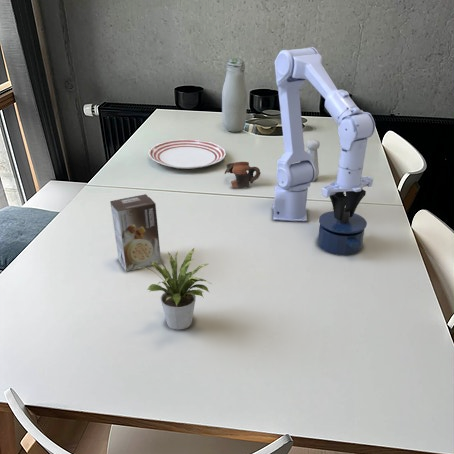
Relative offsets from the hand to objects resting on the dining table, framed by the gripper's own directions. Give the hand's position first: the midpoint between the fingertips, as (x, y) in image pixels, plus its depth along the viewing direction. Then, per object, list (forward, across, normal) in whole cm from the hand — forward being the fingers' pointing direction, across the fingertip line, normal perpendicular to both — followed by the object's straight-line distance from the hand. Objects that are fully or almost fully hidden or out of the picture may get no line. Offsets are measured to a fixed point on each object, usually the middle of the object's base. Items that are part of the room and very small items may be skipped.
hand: (343, 217), depth 131 cm
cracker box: (+8, -49, +17) cm, 53 cm away
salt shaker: (+8, +20, +39) cm, 45 cm away
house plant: (+8, -52, -10) cm, 54 cm away
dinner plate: (+8, -7, +75) cm, 76 cm away
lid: (+2, 0, 0) cm, 2 cm away
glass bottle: (+8, +25, +96) cm, 100 cm away
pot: (+8, 0, 0) cm, 8 cm away
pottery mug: (+8, -1, +47) cm, 48 cm away
